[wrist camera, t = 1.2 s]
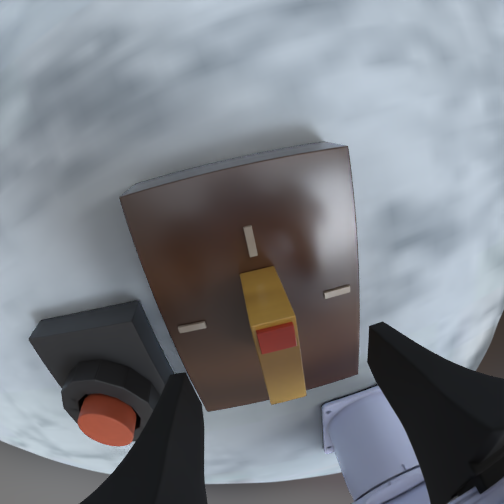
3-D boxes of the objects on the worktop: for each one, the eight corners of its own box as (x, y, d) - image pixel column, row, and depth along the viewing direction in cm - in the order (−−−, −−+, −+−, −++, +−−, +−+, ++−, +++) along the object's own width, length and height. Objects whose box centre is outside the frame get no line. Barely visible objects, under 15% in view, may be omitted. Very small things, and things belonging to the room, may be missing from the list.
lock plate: (342, 346, 21) (359, 376, 18) (206, 379, 20) (207, 413, 18) (324, 141, 15) (350, 145, 12) (134, 184, 15) (117, 198, 12)
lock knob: (287, 341, 16) (308, 399, 12) (258, 348, 16) (272, 409, 12) (273, 265, 14) (297, 319, 10) (239, 273, 14) (250, 331, 10)
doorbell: (195, 411, 22) (195, 452, 18) (109, 420, 21) (101, 456, 18) (139, 299, 17) (125, 342, 14) (40, 320, 17) (16, 356, 13)
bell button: (145, 424, 17) (143, 445, 15) (100, 427, 17) (96, 446, 15) (120, 390, 15) (115, 413, 14) (73, 394, 15) (66, 414, 14)
